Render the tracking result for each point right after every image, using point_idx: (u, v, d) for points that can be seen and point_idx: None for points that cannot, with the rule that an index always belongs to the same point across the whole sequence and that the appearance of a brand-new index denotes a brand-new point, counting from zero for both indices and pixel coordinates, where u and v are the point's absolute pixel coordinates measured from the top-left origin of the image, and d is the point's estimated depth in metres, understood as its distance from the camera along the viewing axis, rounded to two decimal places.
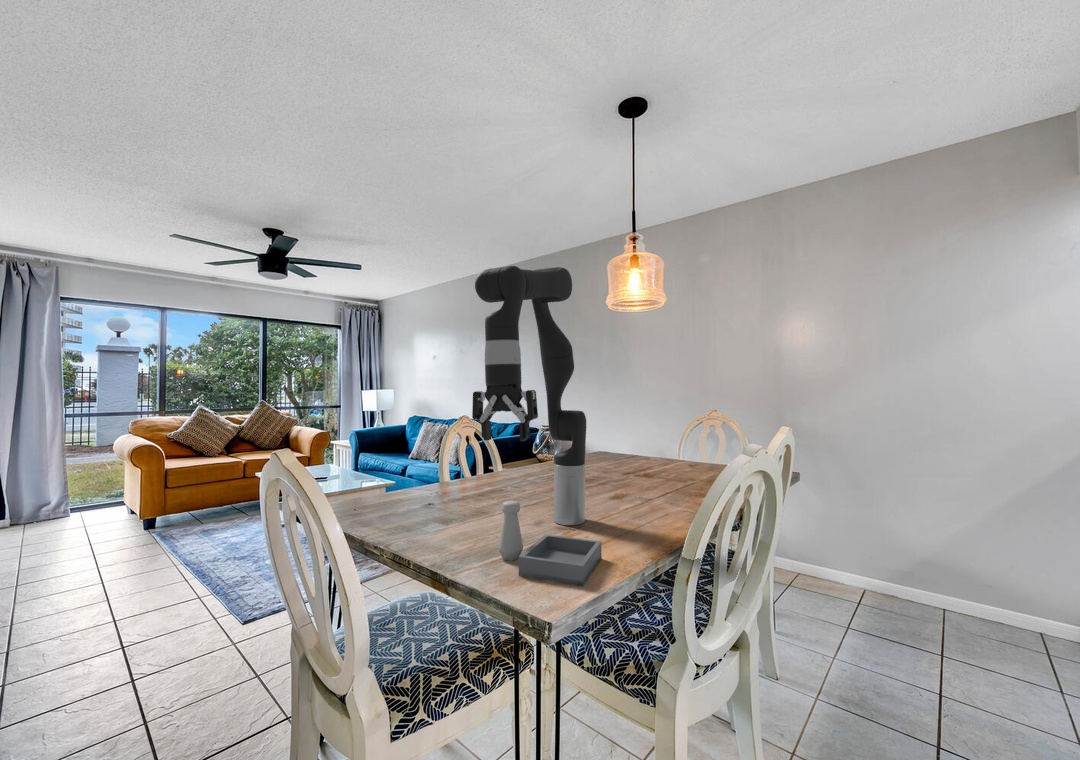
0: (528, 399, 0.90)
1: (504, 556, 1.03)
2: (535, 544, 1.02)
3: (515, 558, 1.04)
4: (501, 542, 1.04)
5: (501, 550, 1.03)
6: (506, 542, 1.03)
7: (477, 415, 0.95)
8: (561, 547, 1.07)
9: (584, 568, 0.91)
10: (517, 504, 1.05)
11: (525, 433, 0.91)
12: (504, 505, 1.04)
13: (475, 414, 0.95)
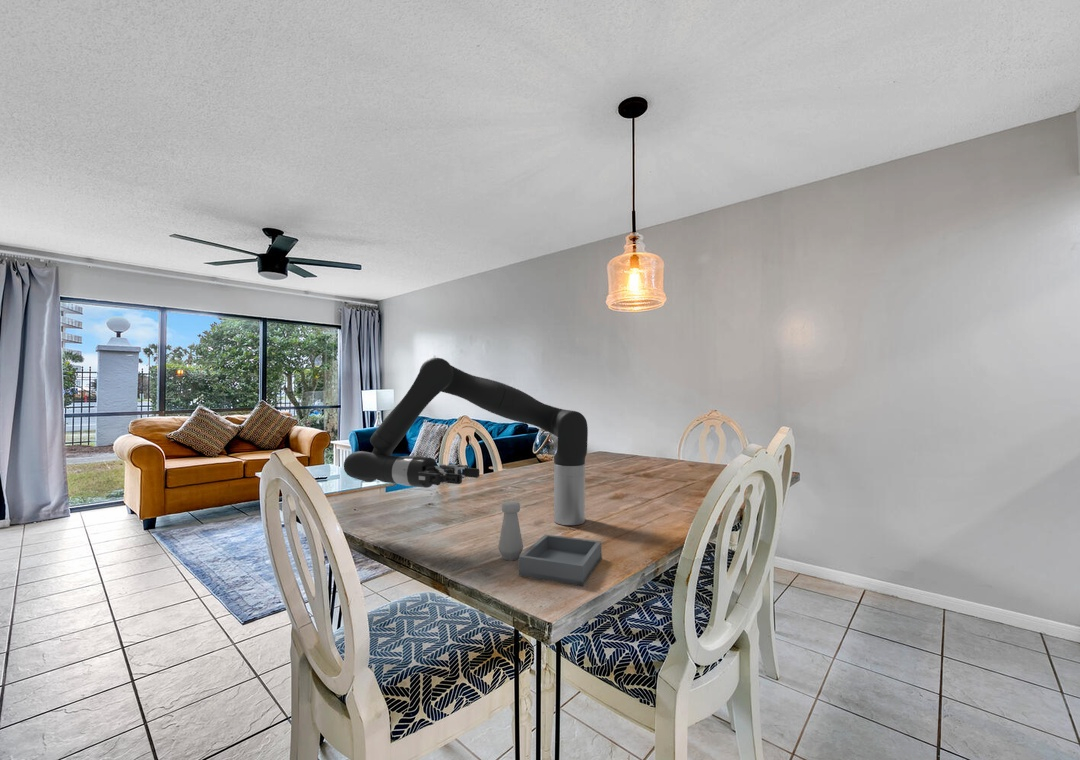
0: None
1: (504, 556, 1.03)
2: (535, 544, 1.02)
3: (515, 558, 1.04)
4: (501, 542, 1.04)
5: (501, 550, 1.03)
6: (506, 542, 1.03)
7: None
8: (561, 547, 1.07)
9: (584, 568, 0.91)
10: (517, 504, 1.05)
11: None
12: (504, 505, 1.04)
13: None
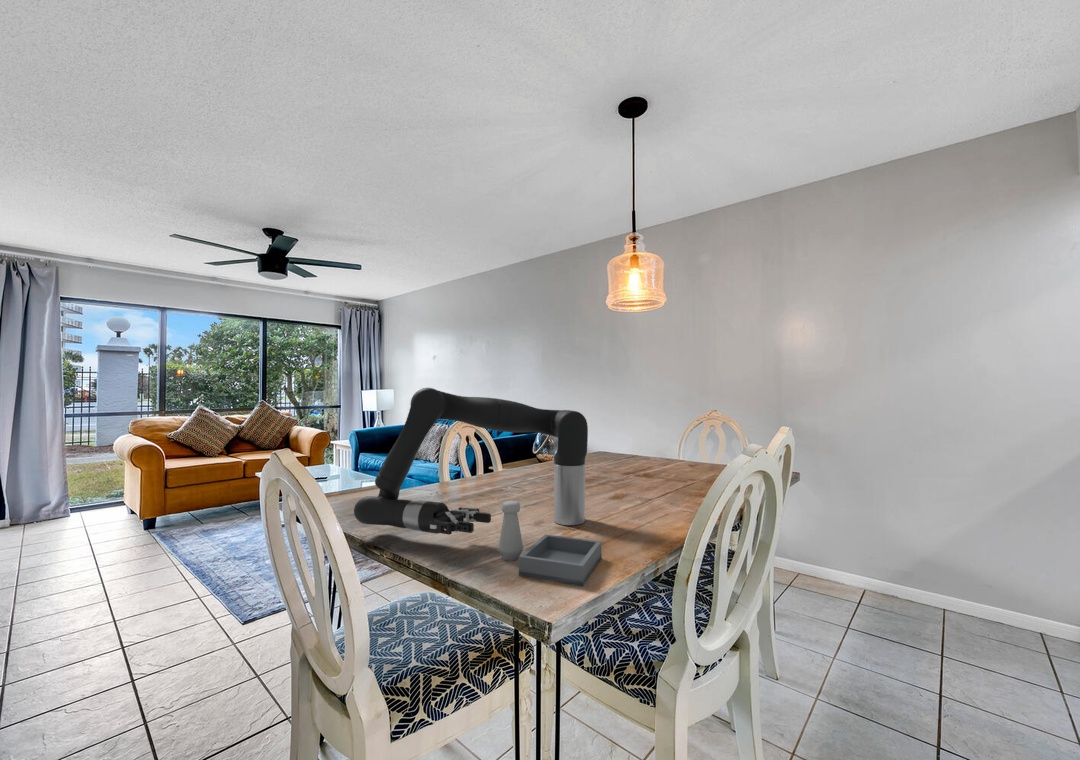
0: None
1: (504, 556, 1.03)
2: (535, 544, 1.02)
3: (515, 558, 1.04)
4: (501, 542, 1.04)
5: (501, 550, 1.03)
6: (506, 542, 1.03)
7: None
8: (561, 547, 1.07)
9: (584, 568, 0.91)
10: (517, 504, 1.05)
11: None
12: (504, 505, 1.04)
13: None
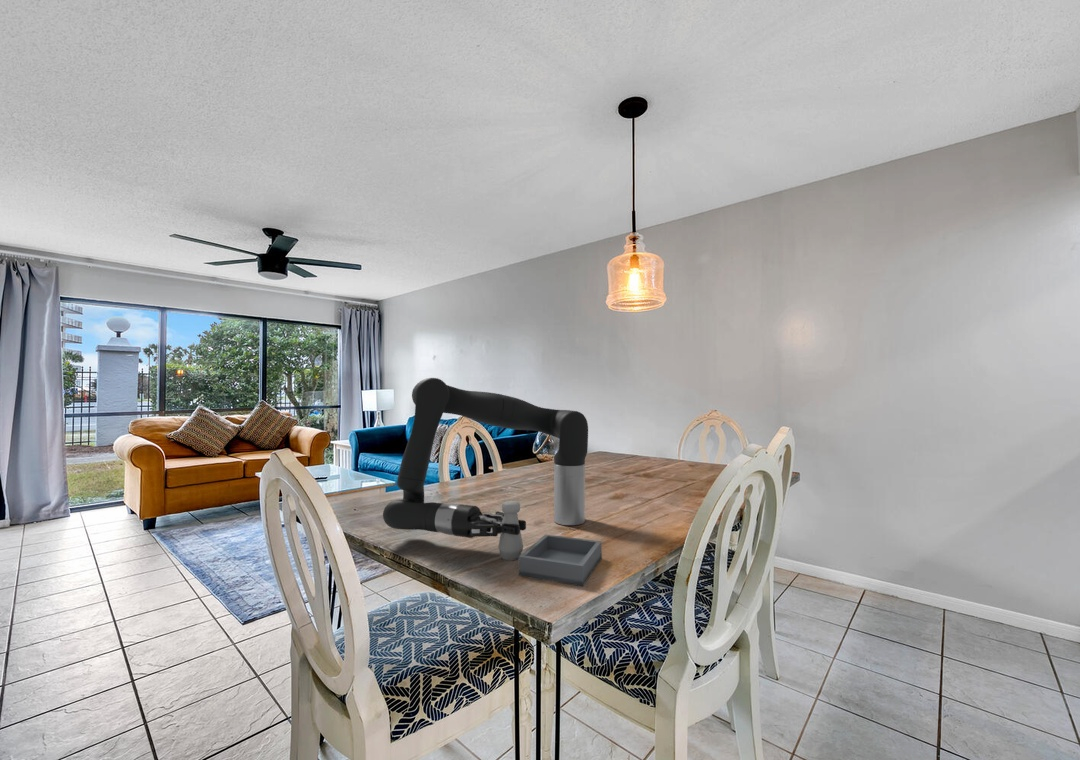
0: None
1: (504, 556, 1.03)
2: (535, 544, 1.02)
3: (515, 558, 1.04)
4: (501, 542, 1.04)
5: (501, 550, 1.03)
6: (506, 542, 1.03)
7: None
8: (561, 547, 1.07)
9: (584, 568, 0.91)
10: (517, 504, 1.05)
11: None
12: (504, 505, 1.04)
13: None
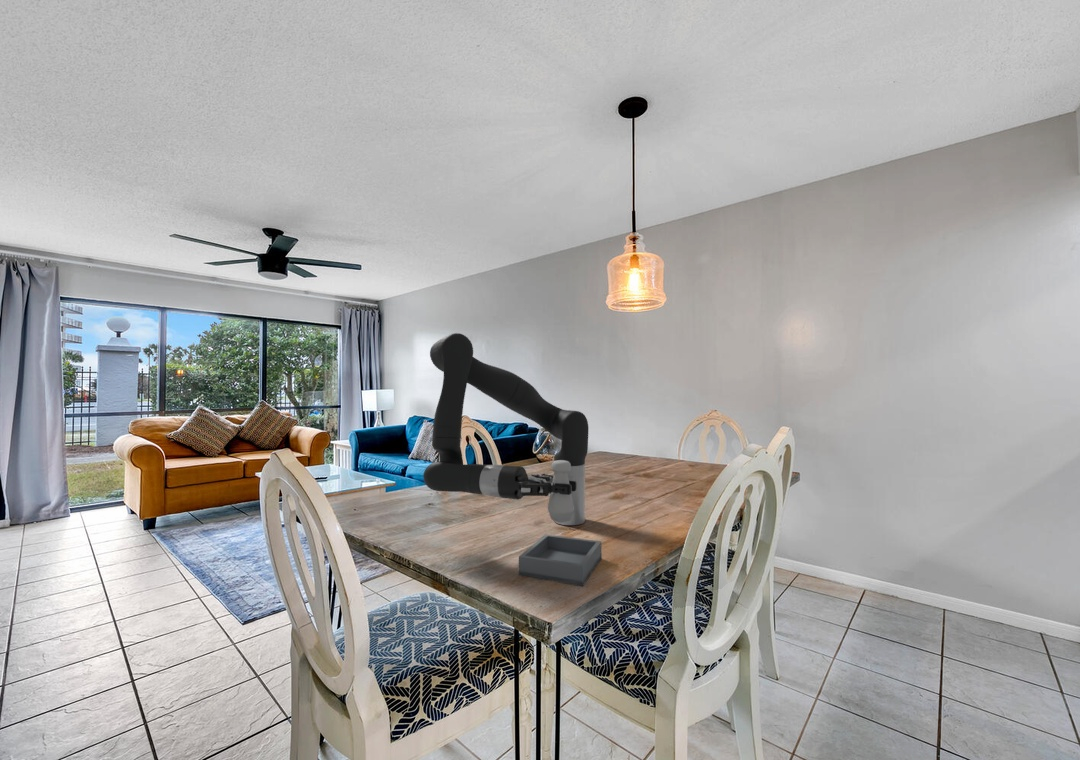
0: None
1: (555, 517, 0.98)
2: (535, 544, 1.02)
3: (566, 519, 0.98)
4: (551, 503, 0.99)
5: (551, 511, 0.98)
6: (557, 502, 0.98)
7: None
8: (561, 547, 1.07)
9: (584, 568, 0.91)
10: (568, 463, 0.99)
11: None
12: (555, 463, 0.99)
13: None
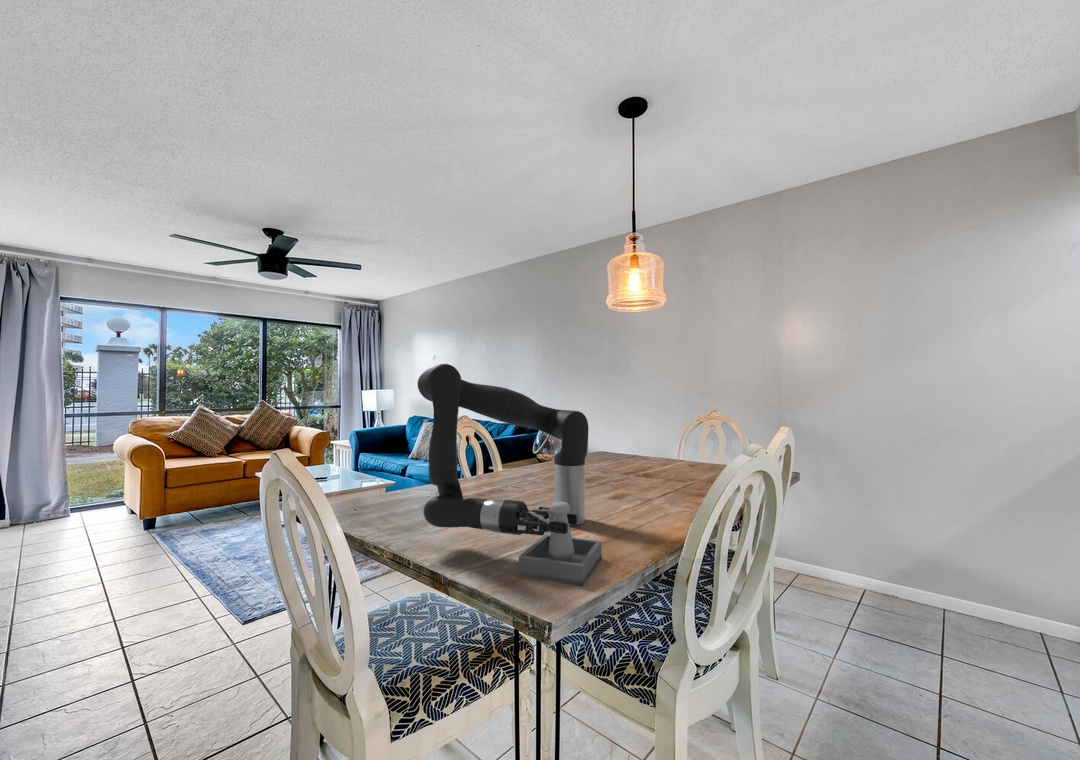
0: None
1: None
2: (535, 544, 1.02)
3: None
4: (551, 545, 0.98)
5: (552, 554, 0.98)
6: (557, 545, 0.98)
7: None
8: None
9: (584, 568, 0.91)
10: (567, 505, 0.99)
11: None
12: (554, 506, 0.99)
13: None
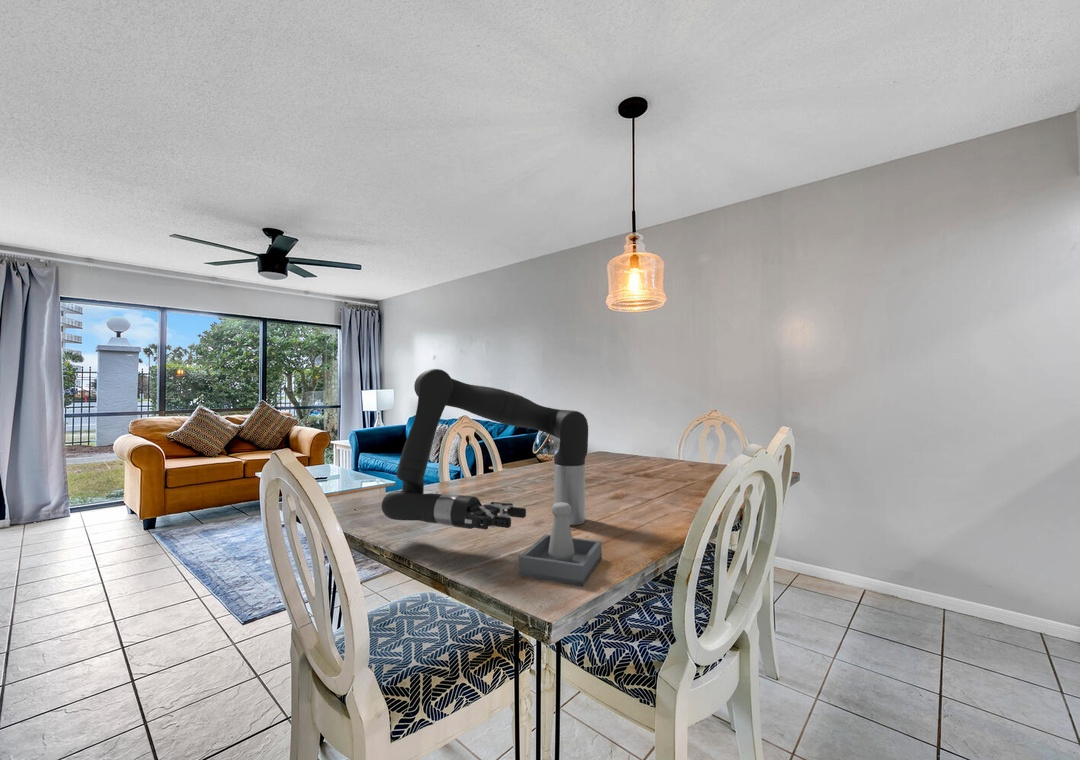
0: None
1: None
2: (535, 544, 1.02)
3: None
4: (552, 546, 0.98)
5: (552, 554, 0.98)
6: (557, 546, 0.98)
7: None
8: None
9: (584, 568, 0.91)
10: (568, 506, 0.99)
11: None
12: (555, 507, 0.99)
13: None
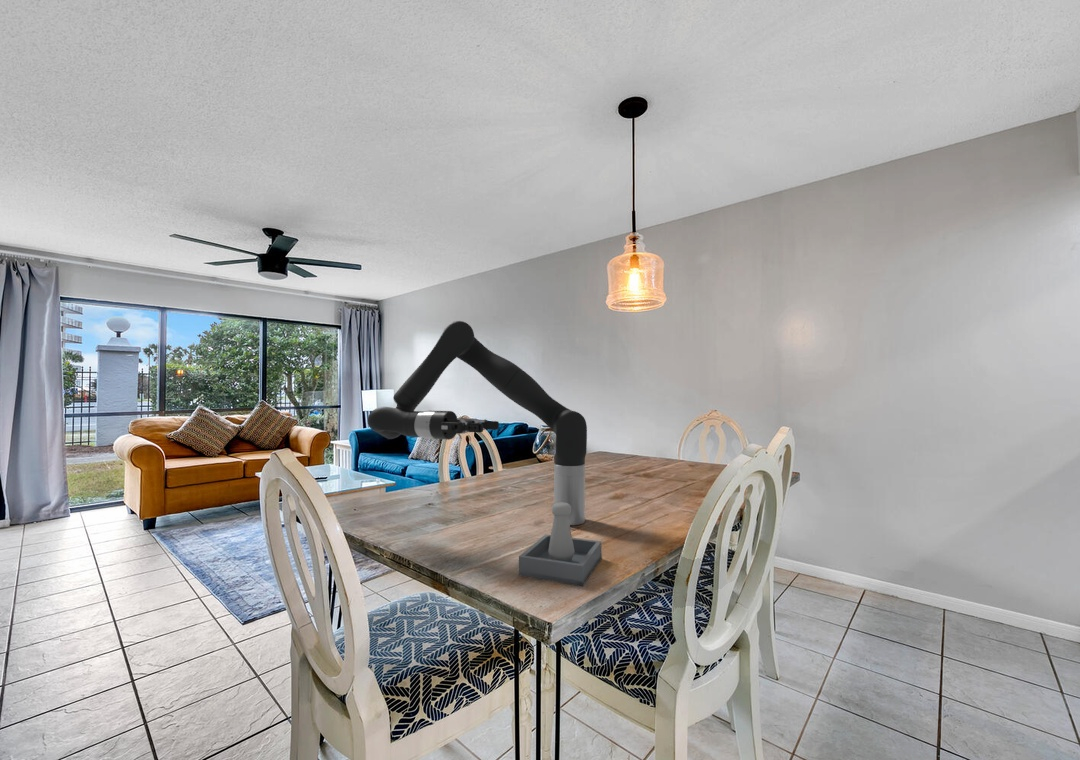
0: None
1: None
2: (535, 544, 1.02)
3: None
4: (552, 546, 0.98)
5: (552, 554, 0.98)
6: (557, 546, 0.98)
7: None
8: None
9: (584, 568, 0.91)
10: (568, 506, 0.99)
11: (475, 430, 1.10)
12: (555, 506, 0.99)
13: None
